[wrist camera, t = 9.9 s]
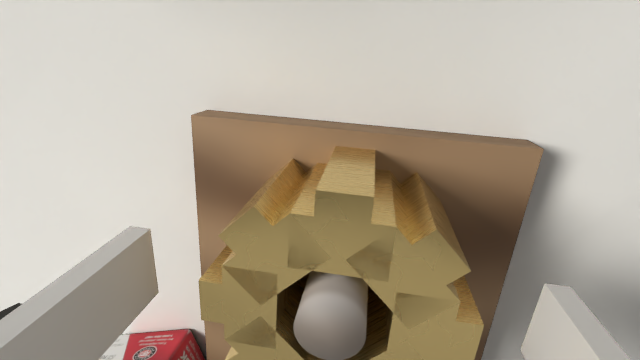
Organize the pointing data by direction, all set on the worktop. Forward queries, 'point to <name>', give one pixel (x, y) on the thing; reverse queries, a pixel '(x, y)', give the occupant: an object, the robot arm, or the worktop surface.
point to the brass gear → (343, 263)
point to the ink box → (155, 346)
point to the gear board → (390, 154)
